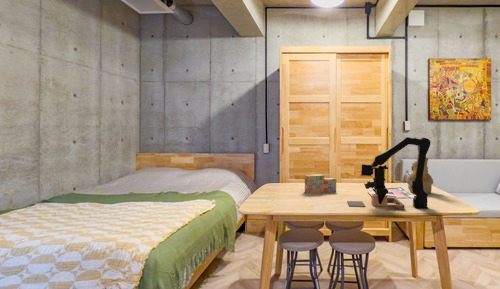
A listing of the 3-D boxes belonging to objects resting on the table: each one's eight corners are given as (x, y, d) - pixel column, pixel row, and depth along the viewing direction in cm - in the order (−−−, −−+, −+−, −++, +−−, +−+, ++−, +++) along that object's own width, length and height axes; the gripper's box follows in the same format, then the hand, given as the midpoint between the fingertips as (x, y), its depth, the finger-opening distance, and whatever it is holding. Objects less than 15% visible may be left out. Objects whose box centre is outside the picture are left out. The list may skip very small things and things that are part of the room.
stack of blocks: (332, 190, 250) (332, 173, 249) (336, 192, 244) (336, 174, 243) (304, 191, 245) (304, 174, 245) (307, 193, 239) (307, 175, 238)
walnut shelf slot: (395, 201, 210) (395, 197, 210) (404, 209, 190) (404, 205, 190) (379, 201, 212) (379, 197, 212) (387, 209, 191) (387, 205, 191)
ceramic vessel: (427, 190, 246) (427, 155, 245) (439, 195, 227) (440, 157, 225) (402, 189, 248) (402, 155, 247) (412, 195, 229) (413, 158, 227)
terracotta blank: (385, 204, 204) (385, 194, 204) (387, 206, 199) (387, 195, 199) (371, 203, 205) (371, 193, 205) (372, 205, 200) (372, 195, 200)
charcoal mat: (362, 202, 209) (362, 201, 209) (365, 206, 198) (365, 205, 198) (346, 201, 211) (346, 200, 211) (349, 206, 199) (349, 205, 199)
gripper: (362, 173, 212) (362, 198, 213) (367, 178, 193) (367, 205, 194) (381, 174, 210) (381, 199, 211) (388, 178, 191) (388, 206, 192)
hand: (379, 202), depth 202 cm, fingers closed on terracotta blank, 5 cm apart
